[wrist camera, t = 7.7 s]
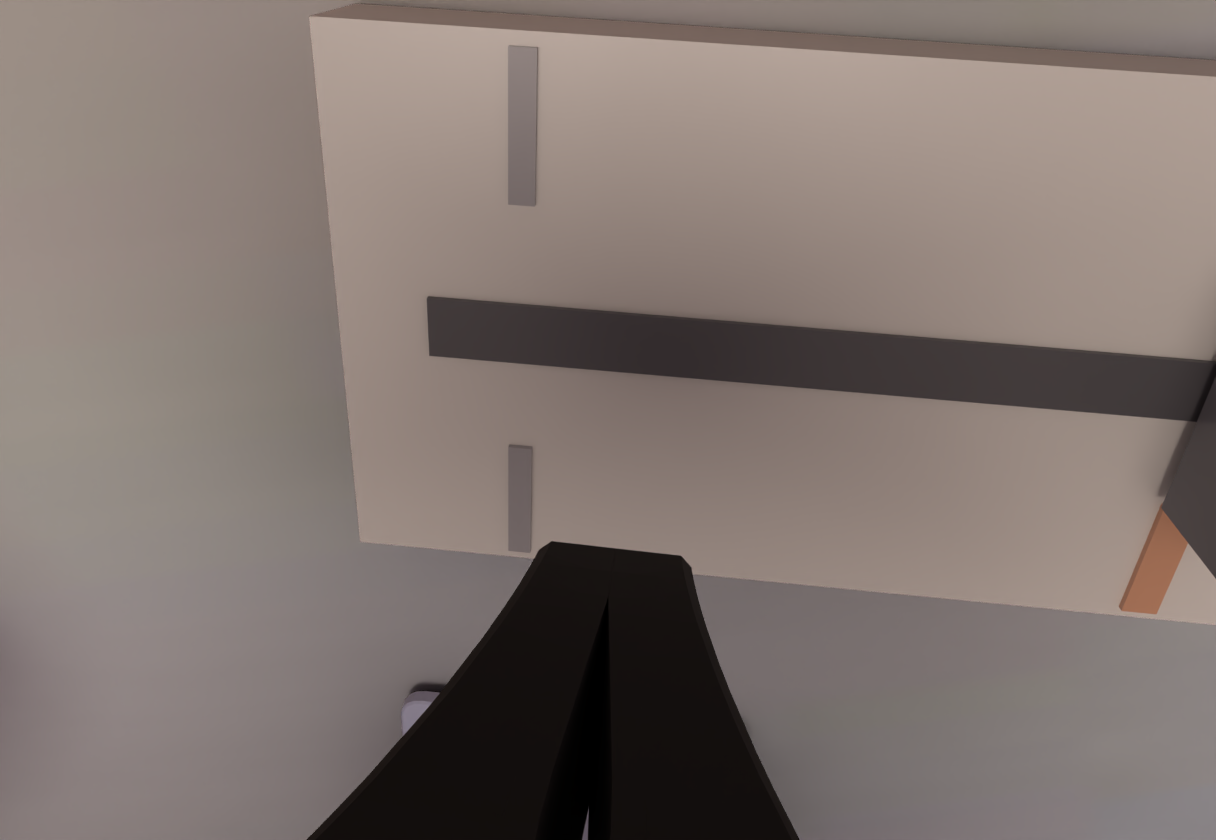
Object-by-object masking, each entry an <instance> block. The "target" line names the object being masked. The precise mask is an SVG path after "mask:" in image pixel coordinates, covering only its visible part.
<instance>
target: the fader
mask: <svg viewBox="0 0 1216 840" xmlns="http://www.w3.org/2000/svg"><path fill="white" fill-rule="evenodd" d="M1161 508H1162V510H1163V511H1164V512H1165V514H1166V515H1167V516H1168V517H1169V519H1170V520H1171V521H1172V523H1173V524H1174V525H1175V527H1176V528H1177V529H1178V530H1179V532H1180V533H1181V534H1182V536H1183V537H1184V538H1185V540H1186V541H1187V542H1188V543H1189V545H1190V546H1191V547H1192V549H1193V550H1194V551H1195V553H1196V554H1197V555H1198V556H1199V558H1200V559H1201V560H1202V562H1203V563H1204V564H1205V566H1206V567H1207V568H1208V569H1209V571H1210V572H1211V573H1212V575H1213V576H1214V577H1215V579H1216V377H1215V379H1214V382H1213V384H1212V387H1211V389H1210V391H1209V394H1208V396H1207V399H1206V401H1205V403H1204V406H1203V408H1202V411H1201V413H1200V415H1199V418H1198V420H1197V423H1196V425H1195V427H1194V430H1193V432H1192V435H1191V437H1190V440H1189V442H1188V444H1187V447H1186V449H1185V452H1184V454H1183V456H1182V459H1181V461H1180V464H1179V466H1178V468H1177V471H1176V473H1175V476H1174V478H1173V480H1172V483H1171V485H1170V488H1169V490H1168V492H1167V495H1166V497H1165V500H1164V502H1163V504H1162V507H1161Z"/></svg>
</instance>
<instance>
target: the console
mask: <svg viewBox="0 0 1216 840" xmlns="http://www.w3.org/2000/svg"><path fill="white" fill-rule="evenodd" d="M309 20H310V31H311V41H312V51H313V61H314V72H315V82H316V92H317V103H318V113H319V123H320V133H321V144H322V154H323V164H324V174H325V185H326V195H327V205H328V216H329V226H330V236H331V246H332V257H333V267H334V277H335V287H336V298H337V308H338V318H339V329H340V339H341V349H342V359H343V370H344V380H345V390H346V400H347V411H348V421H349V431H350V442H351V452H352V462H353V472H354V483H355V493H356V503H357V513H358V524H359V534H360V542H367V543H377V544H388V545H398V546H408V547H418V548H429V549H439V550H449V551H460V552H470V553H480V554H491V555H501V556H511V557H521V558H532V559H534V558H535V556H536V554H537V552H538V550H539V549H541V548H542V547H544V546H545V545H546V544H548V543H549V542H551V541H555V542H564V543H573V544H582V545H591V546H600V547H609V548H617V549H626V550H635V551H644V552H653V553H662V554H671V555H680V556H682V557H683V558H684V559H685V561H686V562H687V563H688V564H689V565H690V566H691V567H692V574H696V575H707V576H717V577H727V578H738V579H748V580H758V581H768V582H779V583H789V584H799V585H810V586H820V587H830V588H841V589H851V590H861V591H871V592H882V593H892V594H902V595H913V596H923V597H933V598H943V599H954V600H964V601H974V602H985V603H995V604H1005V605H1016V606H1026V607H1036V608H1046V609H1057V610H1067V611H1077V612H1088V613H1098V614H1108V615H1118V616H1129V617H1139V618H1149V619H1160V620H1170V621H1180V622H1191V623H1201V624H1211V625H1216V579H1215V577H1214V576H1213V575H1212V573H1211V572H1210V571H1209V569H1208V568H1207V567H1206V566H1205V564H1204V563H1203V562H1202V560H1201V559H1200V558H1199V556H1198V555H1197V554H1196V553H1195V551H1194V550H1193V549H1192V547H1191V546H1190V545H1189V543H1188V542H1187V541H1186V540H1185V538H1184V537H1183V536H1182V534H1181V533H1180V532H1179V530H1178V529H1177V528H1176V527H1175V525H1174V524H1173V523H1172V521H1171V520H1170V519H1169V517H1168V516H1167V515H1166V514H1165V512H1164V511H1163V510H1162V508H1161V507H1162V504H1163V502H1164V500H1165V497H1166V495H1167V492H1168V490H1169V488H1170V485H1171V483H1172V480H1173V478H1174V476H1175V473H1176V471H1177V468H1178V466H1179V464H1180V461H1181V459H1182V456H1183V454H1184V452H1185V449H1186V447H1187V444H1188V442H1189V440H1190V437H1191V435H1192V432H1193V430H1194V427H1195V425H1196V423H1197V420H1198V418H1199V415H1200V413H1201V411H1202V408H1203V406H1204V403H1205V401H1206V399H1207V396H1208V394H1209V391H1210V389H1211V387H1212V384H1213V382H1214V379H1215V377H1216V60H1205V59H1190V58H1175V57H1160V56H1144V55H1129V54H1114V53H1099V52H1084V51H1069V50H1054V49H1038V48H1023V47H1008V46H993V45H978V44H963V43H948V42H933V41H917V40H902V39H887V38H872V37H857V36H842V35H827V34H811V33H796V32H781V31H766V30H751V29H736V28H721V27H706V26H690V25H675V24H660V23H645V22H630V21H615V20H600V19H584V18H569V17H554V16H539V15H524V14H509V13H494V12H479V11H463V10H448V9H433V8H418V7H403V6H388V5H373V4H357V3H356V4H352V5H349V6H345V7H341V8H337V9H334V10H330V11H326V12H322V13H319V14H315V15H311V16H309Z"/></svg>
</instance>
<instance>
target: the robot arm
mask: <svg viewBox="0 0 1216 840" xmlns="http://www.w3.org/2000/svg"><path fill="white" fill-rule="evenodd" d="M401 721H402V734H403V737H402V738H401V739H400V740H399V741H398V742H397V744H396V745H395V746H394V747H393V748H392V749H391V750H390V752H389V753H388V754H387V755H386V756H385V757H384V758H383V759H382V761H381V762H380V763H379V764H378V765H377V766H376V767H375V769H374V770H373V771H372V772H371V773H370V774H369V775H368V776H367V778H366V779H365V780H364V781H363V782H362V783H361V784H360V785H359V786H358V787H357V788H356V789H355V790H354V791H353V792H352V794H351V795H350V796H349V797H348V798H347V799H346V800H345V801H344V802H343V803H342V804H341V805H340V806H339V807H338V808H337V809H336V810H335V811H334V812H333V813H332V814H331V815H330V816H329V818H328V819H327V820H326V821H325V822H324V823H323V824H322V825H321V826H320V827H319V828H318V829H317V830H316V831H315V832H314V833H313V834H312V835H311V836H310V837H309V838H308V839H307V840H799V838H798V836H797V834H796V832H795V830H794V828H793V826H792V824H791V822H790V820H789V818H788V816H787V814H786V812H785V810H784V808H783V806H782V804H781V802H780V800H779V798H778V796H777V794H776V793H775V791H774V789H773V787H772V784H771V782H770V780H769V778H768V776H767V774H766V772H765V770H764V767H763V765H762V763H761V761H760V759H759V757H758V755H757V753H756V751H755V748H754V746H753V744H752V741H751V739H750V737H749V734H748V732H747V730H746V727H745V725H744V723H743V720H742V718H741V716H740V713H739V711H738V709H737V706H736V704H735V702H734V699H733V697H732V695H731V692H730V690H729V688H728V685H727V683H726V680H725V677H724V675H723V672H722V670H721V667H720V665H719V662H718V659H717V656H716V653H715V650H714V648H713V645H712V642H711V639H710V636H709V633H708V631H707V627H706V624H705V621H704V618H703V615H702V611H701V608H700V604H699V601H698V597H697V593H696V589H695V585H694V580H693V575H692V567H691V566H690V565H689V564H688V563H687V562H686V561H685V559H684V558H683V557H682V556H680V555H671V554H662V553H653V552H644V551H635V550H626V549H617V548H609V547H600V546H591V545H582V544H573V543H564V542H555V541H551V542H549V543H548V544H546V545H545V546H544V547H542V548H541V549H539V550H538V552H537V554H536V556H535V558H534V560H533V562H532V564H531V566H530V567H529V569H528V571H527V572H526V574H525V576H524V577H523V579H522V581H521V582H520V584H519V586H518V587H517V589H516V590H515V592H514V593H513V595H512V596H511V598H510V599H509V601H508V602H507V604H506V605H505V607H504V608H503V610H502V611H501V613H500V614H499V615H498V617H497V618H496V620H495V621H494V622H493V624H492V625H491V627H490V628H489V630H488V631H487V632H486V634H485V635H484V637H483V638H482V639H481V641H480V642H479V643H478V644H477V646H476V647H475V648H474V650H473V651H472V652H471V654H470V655H469V656H468V657H467V659H466V660H465V661H464V663H463V664H462V665H461V666H460V668H459V669H458V670H457V672H456V673H455V674H454V676H453V677H452V678H451V679H450V681H449V682H448V683H447V685H446V686H445V687H444V688H443V690H442V691H441V692H440V693H439V692H429V691H416V692H414V693H411V694H410V695H409V696H408V697H407V698H406V699H405V702H404V705H403V707H402V711H401Z"/></svg>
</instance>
